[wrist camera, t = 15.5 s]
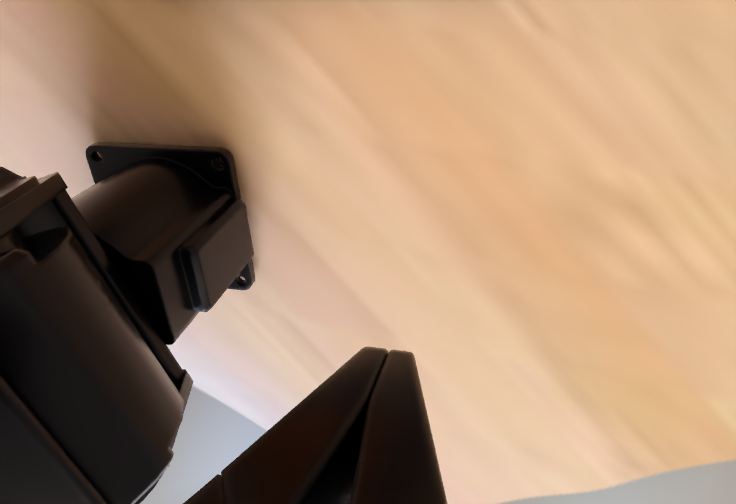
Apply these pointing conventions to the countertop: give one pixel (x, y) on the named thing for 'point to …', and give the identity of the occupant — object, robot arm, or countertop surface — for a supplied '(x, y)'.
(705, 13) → the countertop surface
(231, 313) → the countertop surface
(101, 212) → the robot arm
